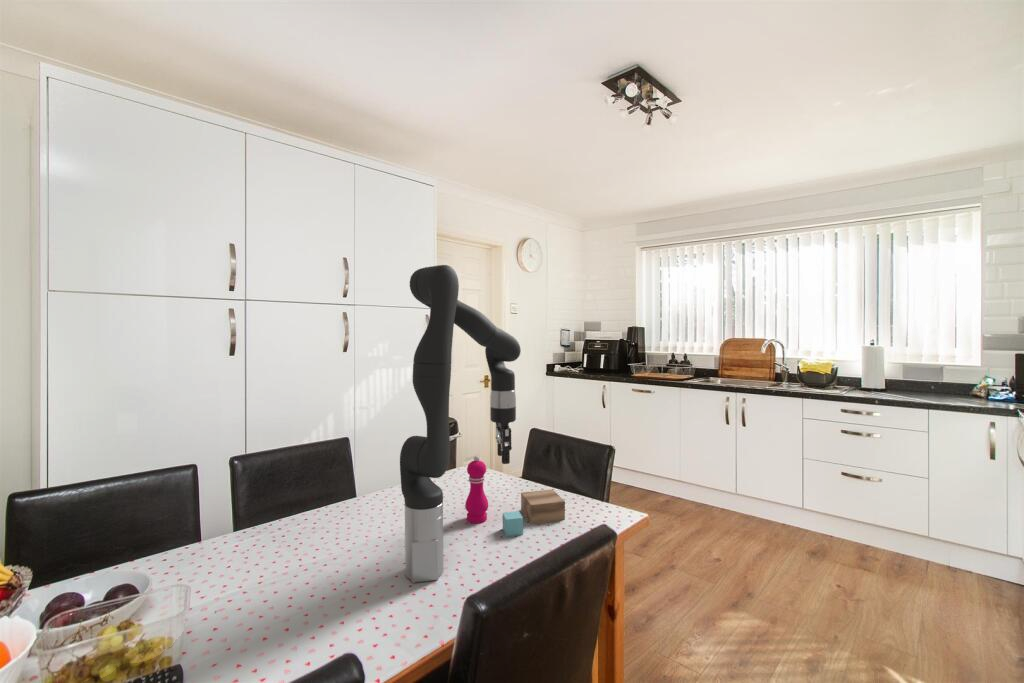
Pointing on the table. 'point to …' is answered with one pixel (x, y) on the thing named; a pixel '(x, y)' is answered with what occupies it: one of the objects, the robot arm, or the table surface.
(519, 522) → the teal cube
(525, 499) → the walnut box
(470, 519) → the pepper mill
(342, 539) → the table surface
